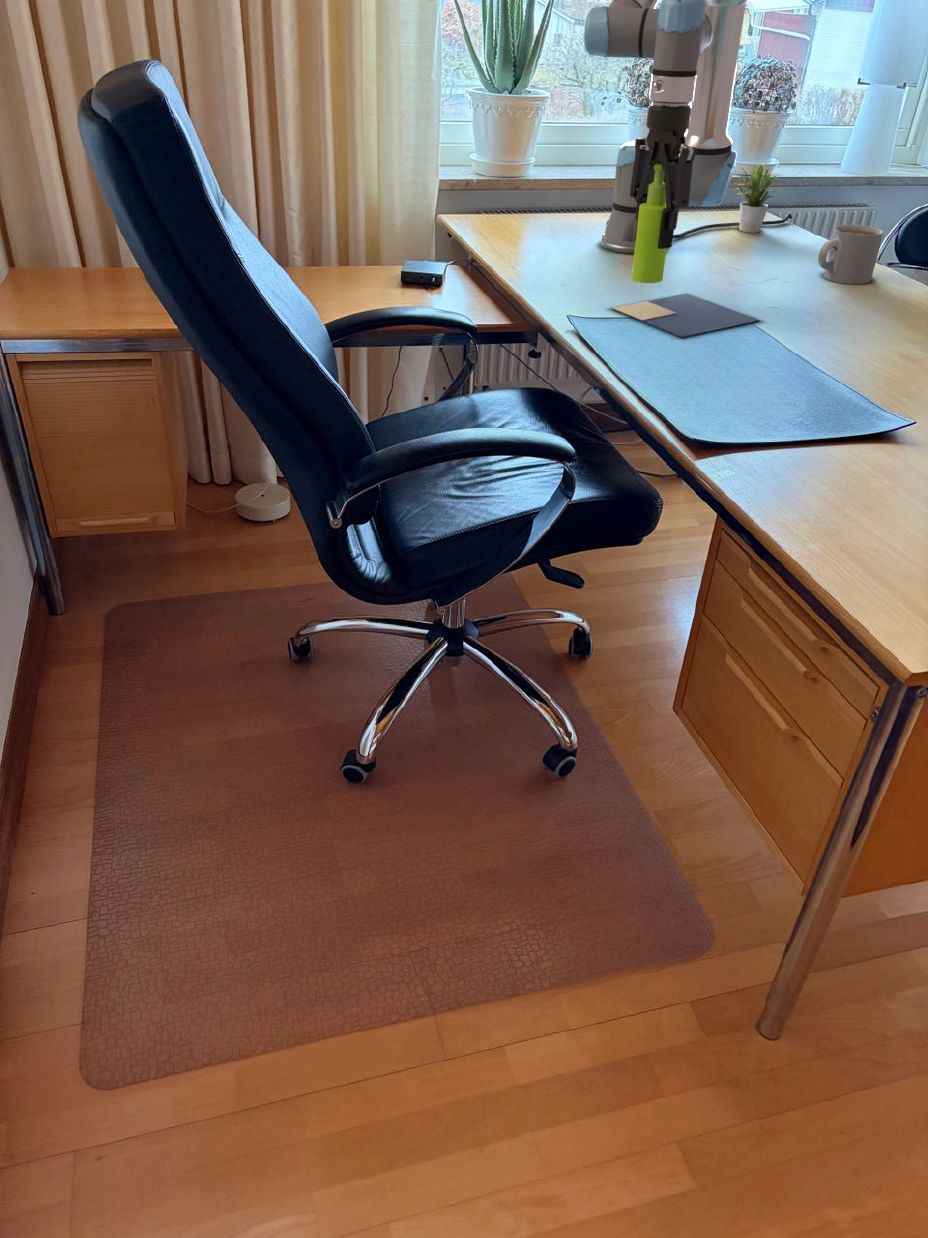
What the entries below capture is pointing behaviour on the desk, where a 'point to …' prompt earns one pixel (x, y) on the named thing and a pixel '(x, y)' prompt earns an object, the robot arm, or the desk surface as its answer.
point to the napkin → (684, 315)
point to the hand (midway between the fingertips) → (652, 243)
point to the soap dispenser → (650, 233)
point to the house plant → (754, 200)
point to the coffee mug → (851, 254)
